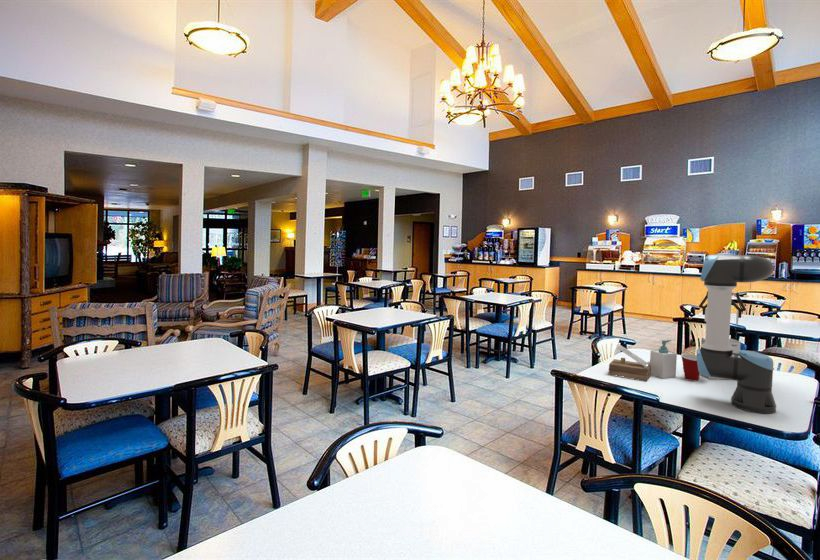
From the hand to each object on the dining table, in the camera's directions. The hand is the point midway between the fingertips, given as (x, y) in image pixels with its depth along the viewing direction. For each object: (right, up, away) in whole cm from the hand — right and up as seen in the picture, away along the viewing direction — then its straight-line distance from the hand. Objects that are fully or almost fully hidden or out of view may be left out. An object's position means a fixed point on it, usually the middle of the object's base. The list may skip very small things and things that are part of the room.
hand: (721, 322), depth 230 cm
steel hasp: (-47, -18, -1) cm, 51 cm away
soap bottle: (-31, -28, 0) cm, 42 cm away
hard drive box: (-4, -29, -3) cm, 29 cm away
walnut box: (-48, -28, 0) cm, 56 cm away
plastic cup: (-20, -29, -6) cm, 35 cm away
